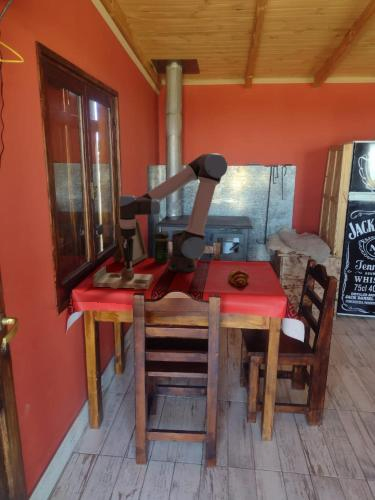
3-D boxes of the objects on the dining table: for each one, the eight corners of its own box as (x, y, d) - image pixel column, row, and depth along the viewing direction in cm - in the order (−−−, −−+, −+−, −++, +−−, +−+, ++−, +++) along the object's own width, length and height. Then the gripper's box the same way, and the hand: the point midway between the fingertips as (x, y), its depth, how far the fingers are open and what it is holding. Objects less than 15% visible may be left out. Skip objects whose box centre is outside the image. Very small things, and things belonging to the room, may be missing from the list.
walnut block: (133, 277, 179) (133, 267, 177) (131, 280, 174) (131, 270, 173) (124, 277, 179) (123, 267, 178) (121, 280, 174) (121, 270, 173)
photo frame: (147, 258, 225) (146, 218, 219) (131, 267, 205) (129, 224, 199) (126, 256, 230) (125, 217, 224) (109, 265, 210) (106, 223, 204)
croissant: (229, 281, 193) (223, 269, 191) (246, 273, 192) (240, 260, 190) (235, 294, 172) (228, 280, 170) (254, 285, 171) (247, 271, 169)
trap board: (153, 279, 184) (153, 268, 183) (147, 289, 169) (146, 277, 167) (104, 277, 187) (103, 266, 185) (93, 287, 171) (93, 275, 170)
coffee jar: (165, 264, 212) (165, 233, 207) (153, 263, 214) (152, 232, 209) (170, 260, 221) (170, 230, 217) (158, 259, 223) (158, 230, 218)
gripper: (123, 225, 180) (125, 269, 186) (116, 229, 168) (117, 277, 173) (138, 225, 179) (139, 270, 185) (132, 230, 167) (133, 278, 173)
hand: (128, 273), depth 179 cm, fingers closed
